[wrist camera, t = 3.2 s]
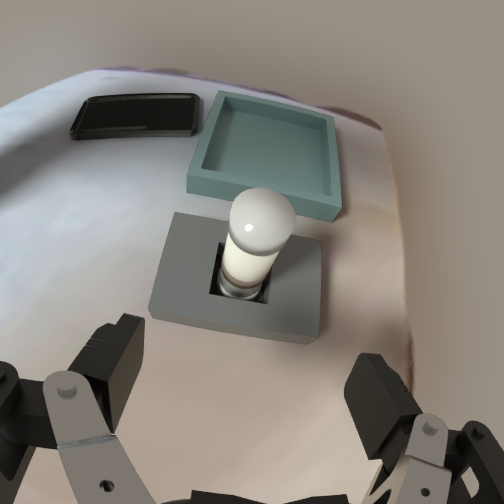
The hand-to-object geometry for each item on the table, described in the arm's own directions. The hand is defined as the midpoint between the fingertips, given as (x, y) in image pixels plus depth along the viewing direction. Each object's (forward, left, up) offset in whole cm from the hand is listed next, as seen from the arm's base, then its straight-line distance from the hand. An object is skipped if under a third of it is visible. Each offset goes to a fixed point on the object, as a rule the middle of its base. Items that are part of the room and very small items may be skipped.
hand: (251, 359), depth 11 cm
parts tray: (+1, +23, -12) cm, 26 cm away
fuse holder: (0, +8, -12) cm, 14 cm away
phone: (-15, +26, -12) cm, 32 cm away
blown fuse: (0, +8, -12) cm, 14 cm away
